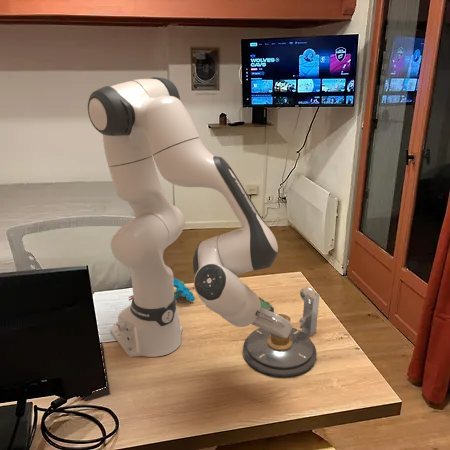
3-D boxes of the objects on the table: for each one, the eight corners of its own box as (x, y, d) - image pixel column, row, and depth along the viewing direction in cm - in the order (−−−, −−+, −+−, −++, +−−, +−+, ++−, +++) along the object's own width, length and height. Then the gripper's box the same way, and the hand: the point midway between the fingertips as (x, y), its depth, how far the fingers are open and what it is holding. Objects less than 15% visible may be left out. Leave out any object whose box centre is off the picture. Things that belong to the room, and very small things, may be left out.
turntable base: (228, 352, 125) (228, 348, 124) (274, 324, 138) (274, 319, 137) (285, 389, 112) (286, 383, 111) (330, 353, 125) (330, 348, 124)
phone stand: (80, 378, 115) (74, 338, 110) (104, 372, 117) (99, 333, 113) (84, 402, 107) (79, 360, 103) (110, 395, 109) (106, 354, 105)
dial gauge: (293, 335, 133) (296, 287, 127) (305, 327, 137) (309, 280, 131) (306, 342, 130) (310, 293, 124) (318, 333, 134) (323, 286, 128)
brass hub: (262, 342, 124) (263, 317, 121) (279, 333, 128) (280, 309, 125) (280, 355, 119) (281, 329, 116) (297, 344, 123) (299, 319, 120)
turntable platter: (233, 347, 124) (233, 343, 124) (274, 321, 136) (274, 317, 136) (285, 379, 112) (285, 374, 112) (325, 348, 124) (326, 343, 124)
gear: (196, 302, 146) (174, 283, 144) (184, 315, 147) (161, 296, 144) (195, 290, 157) (174, 271, 154) (183, 302, 157) (162, 283, 155)
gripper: (285, 308, 97) (303, 326, 108) (211, 279, 108) (234, 298, 119) (273, 335, 95) (293, 351, 106) (199, 303, 107) (223, 320, 117)
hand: (261, 323), depth 113 cm, fingers open, 8 cm apart
